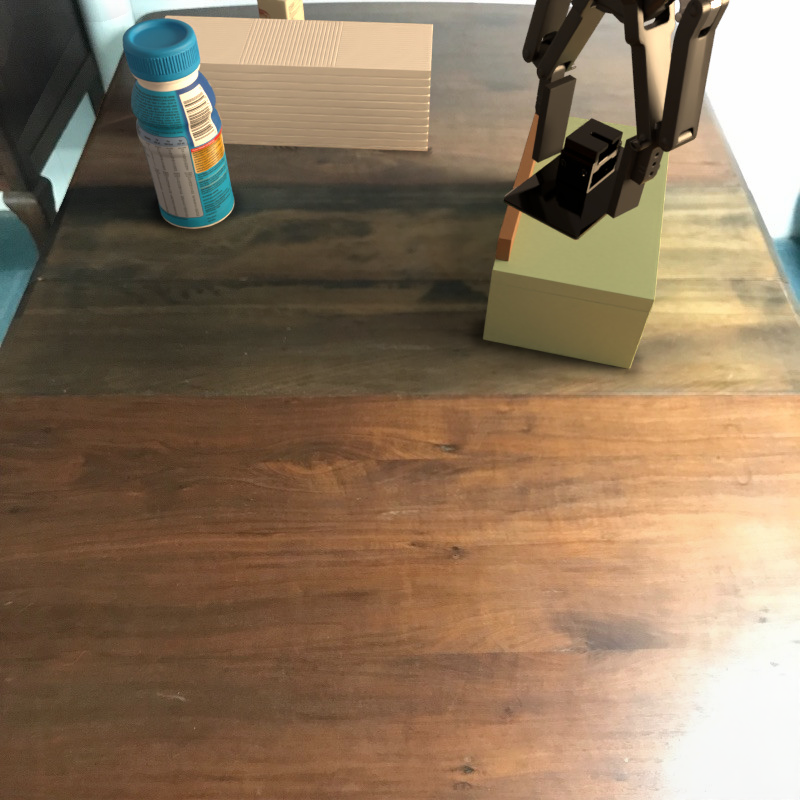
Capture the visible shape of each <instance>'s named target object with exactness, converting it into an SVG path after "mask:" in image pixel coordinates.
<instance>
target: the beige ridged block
mask: <svg viewBox="0 0 800 800" xmlns="http://www.w3.org/2000/svg"><path fill="white" fill-rule="evenodd" d="M164 18H169V19H176V20H180V21H183V22H185V23H187V24H189V25H190V26H191V27H192V28H193V30H194V32H195V35H196V38H197V43H198V48H199V54H200V67H199V71H200V72H201V73H202V74H203V75H204V77H205V78H206V79H207V81H208V82H209V84H210V85H211V87H212V89H213V91H214V94H215V98H216V103H215V108H216V110H217V111H218V113H219V115H220V119H221V123H222V137H223V143H224V145H225V144H228V145H256V146H278V147H280V146H281V147H309V148H330V149H331V148H333V149H335V148H336V149H358V150H359V149H365V150H389V151H411V152H412V151H414V152H415V151H417V152H428V149H429V128H430V107H431V106H430V104H431V103H430V102H431V81H432V80H431V79H432V55H433V54H432V53H433V32H434V24H433V23H408V22H407V23H406V22H377V21H374V22H373V21H345V20H317V19H316V20H315V19H314V20H313V19H304V20H288V19H260V18H255V17H253V18H252V17H228V16H227V17H226V16H225V17H224V16H221V17H219V16H191V15H165V17H164Z"/></svg>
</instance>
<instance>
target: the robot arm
mask: <svg viewBox="0 0 800 800" xmlns="http://www.w3.org/2000/svg"><path fill="white" fill-rule="evenodd" d="M675 1H676V0H535V3H534V7H533V11H532V14H531V18H530V22H529V25H528V29H527V32H526V36H525V40H524V43H523V46H522V50H521V56H522V59H523V61H524V62H525V63H527V64H530V63H532V64H533V65H534V67H535V68H536V76H537V78H538V86H537V92H536V97H535V98H536V100H535V105H534V111H536V114H537V115H538V116H539V118H538V124H537V130H536V136H535V142H534V148H533V154H532V159H533V160H535V161H536V162H537V163H539V162H541V161H543V160H545V159H547V158H550V157H552V156H554V155H556V154H559V153H561V150H562V149H563V145H564V140H565V135H566V130H567V125H568V120H569V116H570V114H571V110H572V104H573V100H574V95H575V89H576V84H577V80H578V78H576V77H574V76H573V75H571V74H568V75H565V74H566V73H567V72H569V71H573V70H575V69H577V66H576V65H575V62H576V60H577V59H578V57H579V56H580V54H581V52H582V51H583V49H584V48H585V46H586V44H587V43H588V41H589V40H590V38H591V37H592V35H593V33H594V32H595V30H596V29H597V27H598V25H599V24H600V22H601V21H602V20H603V17H604V16H605V15H606V14H610V15H612V16H614V18H616V19H617V21H619V23H621V24H623V31H624V40H625V41H624V42H625V43H626V44H627V45H629V46H630V56H631V68H632V82H633V83H632V85H633V98H634V113H635V127H636V130H637V135H635V136H633V137H631V138H629V139H626V142H625V146H624V150H623V154H622V157H621V161H620V165H619V169H618V172H617V176H616V180H615V184H614V187H613V191H612V195H611V198H610V202H609V206H608V210H607V213H606V214H608V215H609V216H610V217H612V218H613V219H614V218H616V217H618V216H620V215H622V214H624V213H626V212H628V211H629V210H631V209H633V208H635V207H637V206H638V205H639V202H640V198H641V195H642V192H643V189H644V185H645V182H647V181H649V180H651V179H653V178H654V177H655V176H656V175H657V172H658V169H659V166H660V162H661V159H662V156H663V153H664V152H669V153H670V152H672V151H673V150H676V149H678V148H680V147H682V146H685V145H686V144H689V143H690V142H692V141H694V140H695V139H696V138H697V136H698V132H699V127H700V120H701V114H702V109H703V104H704V98H705V91H706V86H707V81H708V75H709V70H710V64H711V58H712V53H713V49H714V48H713V47H714V41H715V36H716V30H717V28H718V26H719V24H720V22H721V20H722V18H723V16H724V15H725V12H726V11H727V8H728V7H729V4H730V0H678V3H679V8H678V11H677V12H676V6H675V5H676V4H675ZM570 7H571V8H570ZM652 20H654V21H653V22H651V23H648V24H646V25H645V23H647V22H650V21H652ZM676 23H678V24H677V27H676ZM675 28H676V29H675ZM674 30H675V33H674V36H673V41H672V40H671V39H672V38H671V37H672V34H673V32H674Z"/></svg>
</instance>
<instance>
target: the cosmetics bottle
mask: <svg viewBox="0 0 800 800" xmlns="http://www.w3.org/2000/svg"><path fill="white" fill-rule="evenodd" d="M256 4H257V11H258V16H259V19H288V20H305V12H304V1H303V0H256Z"/></svg>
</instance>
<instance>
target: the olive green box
mask: <svg viewBox="0 0 800 800" xmlns="http://www.w3.org/2000/svg"><path fill="white" fill-rule="evenodd" d="M534 111H535V110H534ZM538 118H539V116H538V115H537V114H536V111H535V112H534V115H533V117H532V121H531V125H530V129H529V133H528V135H527V139H526V142H525V145H524V149H523V153H522V156H521V159H520V162H519V166H518V169H517V172H516V176H515V180H514V181H513V186H512V189H511V190H513V189H514V188H515V187H518V186H519V185H521V184H522V183H523V182H525V181H526V180H527V179H528V178H530V177H531V176H532V175H534V174H535V173H536V172H538V171H539V170H540V169H542V168H543V167H544V166H545V165H547V164H548V163H549V162H551V161H552V160H553V159H555V158H556V157H557V156H558V155H560V154H561V153H559V154H556V155H554V156H552V157H550V158H547V159H545V160H543V161H541V162H539V163H537V162H536V161H535V160H533V159H532V154H533V148H534V142H535V136H536V130H537V124H538ZM588 120H590V119H588V118H582V117H577V116H570V115H569V120H568V125H567V130H566V135H565V139H566V137H567V136H568V135H570V134H571V133H572V132H574V131H575V130H576V129H578V128H579V127H580V126H582V125H583V124H584V123H586V122H587V121H588ZM599 121H600V122H602V123H604V124H606V125H608V126H611V127H613V128H615V129H617V130H620V131H622V132H623V135H622V139H621V141H622V145H621V146H622V147H624V146H625V142H626V139H629V138H631V137H633V136H635V135H637V130H636V125H629V124H628V125H627V124H620V123H615V122H608V121H601V120H599ZM564 144H565V140H564ZM563 148H564V145H563ZM669 156H670V151H669V152H664V153H663V156H662V159H661V162H660V168H659V170H658V172H657V175H656V176H655V177H654V178H653V179H651V180H649V181H647V182H645V185H644V189H643V192H642V195H641V198H640V202H639V205H638V206H637V207H635V208H633V209H631V210H629V211H628V212H626V213H624V214H622V215H620V216H618V217H616V218H614V219H613V218H612V217H610V216H609V215H608V214H607V215H606V216H605V217H604V218H603V219H602V220H600V221H599V222H598V223H597V224H596V225H595V226H594V227H592V228H591V229H590V230H589V231H588V232H587V233H586V234H584V235H583V236H582V237H581V238H580V239H579V240H573V239H572V238H570V237H568V236H566V235H564V234H562V233H560V232H558V231H556V230H555V229H553V228H551V227H549V226H547V225H545V224H543V223H541V222H539V221H538V220H536V219H534V218H532V217H530V216H528V215H526V214H524V213H522V212H521V211H519V210H517V209H515V208H513V207H511V206H509V205H506V206H507V207H506V210H505V213H504V215H503V216H504V217H503V221H502V223H501V227H500V229H499V233H498V236H497V243H496V251H495V258H494V262H493V266H492V270H491V276H490V284H489V289H488V290H489V291H488V300H487V305H486V313H485V319H484V328H483V335H482V340H484V341H489V342H494V343H498V344H499V343H500V344H504V345H509V346H512V347H513V346H514V347H518V348H523V349H528V350H534V351H539V352H544V353H549V354H554V355H559V356H564V357H568V358H573V359H579V360H584V361H588V362H593V363H599V364H603V365H608V366H613V367H619V368H623V369H627V370H628V369H629V370H631V367H632V364H633V361H634V359H635V356H636V353H637V351H638V348H639V345H640V343H641V339H642V337H643V334H644V331H645V328H646V325H647V323H648V320H649V317H650V314H651V312H652V310H653V307H654V304H655V301H656V291H657V283H658V272H659V271H658V270H659V261H660V251H661V240H662V230H663V221H664V220H663V219H664V209H665V199H666V188H667V178H668V167H669V159H670V157H669Z"/></svg>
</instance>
